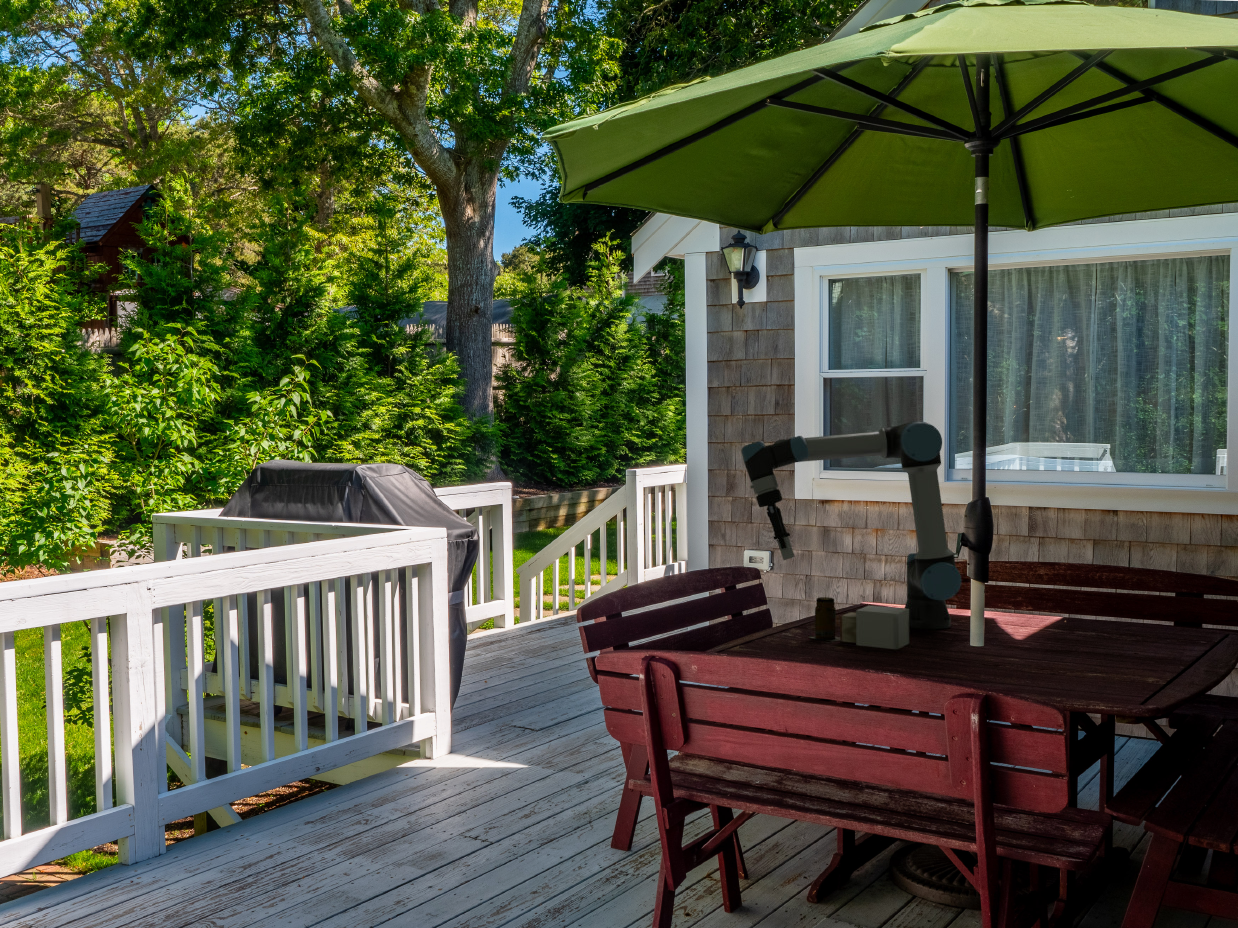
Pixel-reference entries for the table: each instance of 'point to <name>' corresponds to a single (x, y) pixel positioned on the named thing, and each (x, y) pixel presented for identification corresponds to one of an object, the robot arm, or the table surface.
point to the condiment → (825, 620)
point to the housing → (882, 627)
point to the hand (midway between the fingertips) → (789, 558)
